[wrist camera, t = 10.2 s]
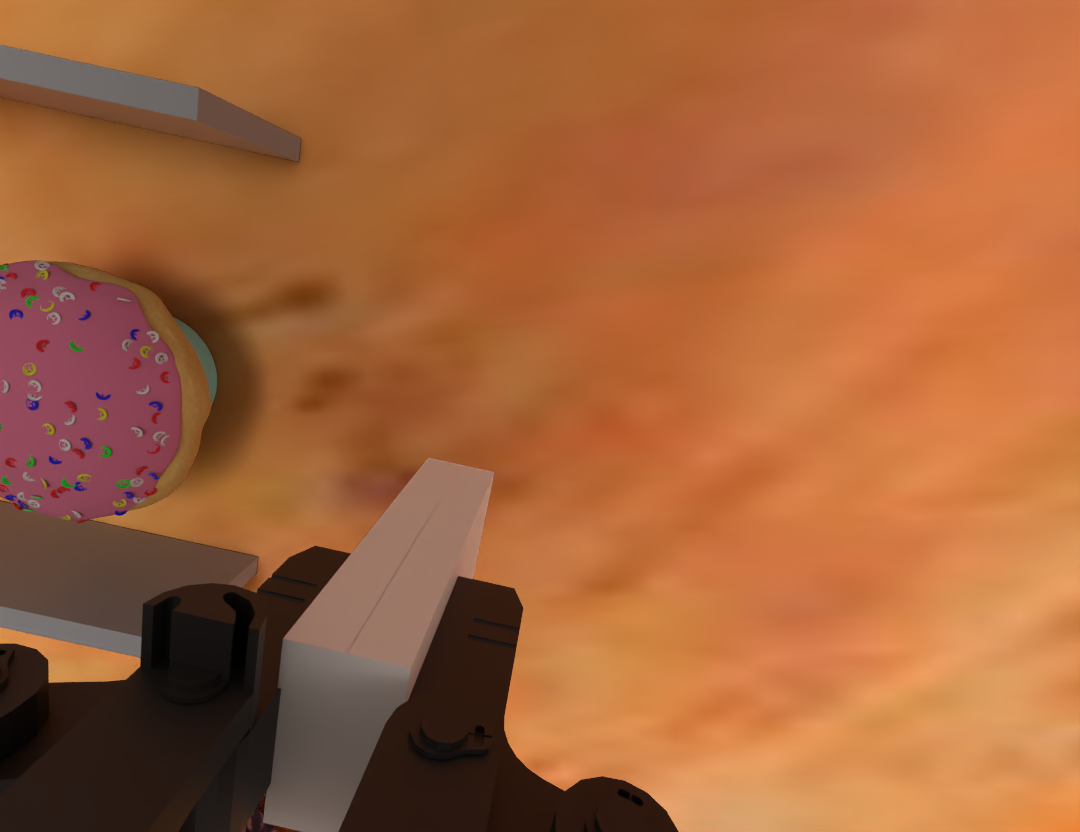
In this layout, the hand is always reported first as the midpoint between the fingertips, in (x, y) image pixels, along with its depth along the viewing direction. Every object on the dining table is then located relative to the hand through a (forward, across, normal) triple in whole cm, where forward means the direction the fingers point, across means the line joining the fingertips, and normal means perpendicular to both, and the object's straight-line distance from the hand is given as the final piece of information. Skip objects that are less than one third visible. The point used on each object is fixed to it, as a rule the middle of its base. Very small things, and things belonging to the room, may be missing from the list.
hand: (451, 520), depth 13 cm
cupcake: (+10, -14, -1) cm, 17 cm away
